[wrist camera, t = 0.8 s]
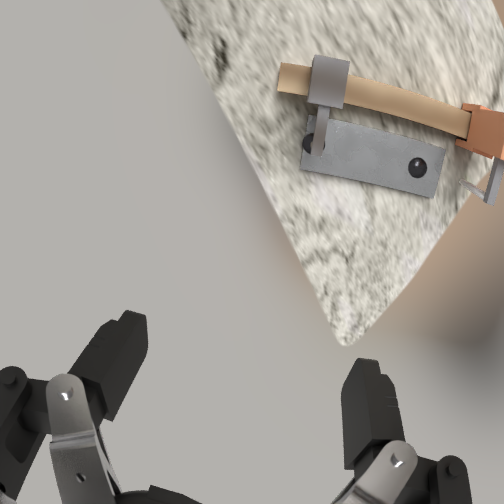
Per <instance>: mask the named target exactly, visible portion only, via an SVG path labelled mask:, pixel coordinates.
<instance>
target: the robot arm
mask: <svg viewBox="0 0 504 504" xmlns="http://www.w3.org/2000/svg"><path fill="white" fill-rule="evenodd" d="M147 350H148V334H147V321H146V316H145V315H143V314H140V313H136V312H133V311H129V310H126V311H125V312H124V313H123V314H122V316H121V317H120V319H119V320H118V321H116V320H110V321H108V322H107V323H105V324H104V325H102V326H101V327H100V328H99V329H98V331H97V332H96V334H95V335H94V337H93V338H92V339H91V341H90V342H89V345H87V346H86V348H85V349H84V350H83V352H82V353H81V355H80V356H79V357H78V359H77V360H76V362H75V363H74V365H73V366H72V368H71V369H70V371H69V372H68V373H67V374H60V375H57V376H55V377H53V378H52V379H51V380H50V381H44V380H36V379H29V378H27V376H26V374H25V372H24V371H23V370H22V369H21V368H19V367H14V366H9V367H6V368H3V369H2V370H0V504H17V503H16V502H15V501H16V499H17V496H18V494H19V492H20V490H21V487H22V485H23V483H24V480H25V478H26V476H27V474H28V471H29V469H30V467H31V465H32V463H33V461H34V459H35V456H36V454H37V452H38V450H39V448H40V446H41V444H42V442H43V440H44V438H45V436H46V434H51V435H52V442H50V454H51V459H52V464H53V468H54V473H55V476H56V481H57V485H58V489H59V493H60V496H61V500H62V504H201V503H199V502H197V501H195V500H193V499H191V498H189V497H187V496H185V495H183V494H180V493H176V492H173V491H169V490H166V489H162V488H159V487H156V486H153V485H150V488H149V491H145V490H141V491H129V492H124V493H123V492H122V490H121V487H120V485H119V482H118V480H117V477H116V475H115V473H114V470H113V468H112V465H111V462H110V459H109V456H108V453H107V450H106V446H105V443H104V440H103V437H102V433H101V430H100V424H101V422H102V420H103V418H104V419H107V420H110V421H113V420H114V418H115V416H116V414H117V412H118V410H119V407H120V406H121V404H122V402H123V400H124V398H125V396H126V394H127V392H128V390H129V388H130V386H131V384H132V382H133V380H134V378H135V376H136V374H137V373H138V371H139V368H140V367H141V365H142V363H143V361H144V359H145V357H146V354H147ZM341 406H342V420H343V442H344V469H345V470H354V477H353V478H352V480H351V481H350V482H349V483H348V484H347V486H346V487H345V488H344V489H343V490H342V491H341V492H340V494H339V495H338V496H337V497H336V498H335V499H334V500H333V501H332V503H331V504H472V498H471V491H470V484H469V479H468V473H467V468H466V465H465V464H464V462H463V461H462V460H461V459H460V458H458V457H456V456H451V455H449V456H445V457H443V458H442V459H441V460H440V461H438V462H437V461H434V460H430V459H426V458H423V457H420V456H418V455H417V453H416V451H415V450H414V448H413V447H412V446H411V445H410V444H408V443H406V441H405V438H404V431H403V426H402V421H401V416H400V411H399V408H398V401H397V399H396V392H395V387H394V384H393V383H392V381H391V380H390V378H389V377H388V376H387V375H384V374H381V372H380V367H379V363H378V361H377V360H372V359H364V358H358V359H357V360H356V361H355V363H354V365H353V367H352V369H351V371H350V373H349V375H348V377H347V379H346V380H345V382H344V384H343V388H342V392H341Z"/></svg>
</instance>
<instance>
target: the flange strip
mask: <svg viewBox="0 0 504 504" xmlns="http://www.w3.org/2000/svg"><path fill="white" fill-rule="evenodd" d="M316 117H317V116H315V115H308V121H307V128H306V134H305V137H304V139H303V152H302V158H301V164H300V169H302V170H307V171H313V172H318V173H324V174H329V175H334V176H339V177H344V178H349V179H353V180H358V181H363V182H367V183H372V184H376V185H381V186H385V187H389V188H393V189H398V190H402V191H406V192H410V193H414V194H417V195H421V196H425V197H429V198H434V195H435V191H436V187H437V184H438V180H439V176H440V172H441V168H442V164H443V160H444V156H445V151H446V149H443V148H441V147H437V146H434V145H431V144H428V143H425V142H422V141H418V140H415V139H412V138H408V137H405V136H401V135H397V134H394V133H390V132H386V131H382V130H379V129H375V128H371V127H366V126H362V125H358V124H354V123H349V122H345V121H340V120H335V119H330V118H329V119H328V125H327V130H326V136H325V142H324V148H323V153H322V157H319V156H313V155H311V154H310V153H311V145H310V143H311V142H312V141H313V136H314V130H315V124H316Z"/></svg>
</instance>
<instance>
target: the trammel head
mask: <svg viewBox="0 0 504 504" xmlns="http://www.w3.org/2000/svg"><path fill="white" fill-rule="evenodd" d="M462 110H464V111H467V112H469V113H472V117H471V122H470V128H469V133H468V137H467V142H466V141H463V140H460V139H457V138H456V143H455V145H457V146H460V147H462V148H465V149H467V150H470V151H472V152H475V153H478V154H480V155H483V156H485V157H488V158H490V159H492V158H493V156H494V157H495V158H494V162H493V166H492V170H491V174H490V178H489V182H488V185H487V189H486V192H484V191H482V190H480V189H479V188H478V187H476V186H474V185H473V184H471V183H469V182H468V181H466V180H464V179H460V181H459V183H460V185H462V186H463V187H465V188H466V189H468V190H469V191H471V192H472V193H474V194H475V195H477V196H478V197H480V198H481V199H483V201H484V202H485V203H487V204H490V205H493V206H494V203H495V200H496V196H497V193H498V189H499V186H500V182H501V179H502V175H503V171H504V113H503V112H497V111H492V110H490V109H488V108H486V107H483V106H481V105H475V104H466V103H463V106H462Z"/></svg>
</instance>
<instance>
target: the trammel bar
mask: <svg viewBox="0 0 504 504" xmlns="http://www.w3.org/2000/svg"><path fill="white" fill-rule="evenodd" d="M349 64H350V62H349V61H345V60H340V59H336V58H331V57H326V56H320V55H315V56H314V58H313V61H312V67H307V66H301V65H295V64H288V63H281V66H280V74H279V81H278V88H277V91H279V92H286V93H292V94H299V95H305V96H307V102H309V103H314V104H319V105H318V111H317V117H316V124H315V130H314V136H313V141H312V142H311V143H310V145H311V153H310V154H311V155H313V156H319V157H322V153H323V148H324V142H325V136H326V130H327V125H328V119H329V113H330V107H335V108H340V109H343V103H346V104H350V105H354V106H359V107H363V108H367V109H371V110H375V111H379V112H383V113H386V114H390V115H394V116H397V117H401V118H404V119H408V120H411V121H414V122H417V123H421V124H424V125H427V126H430V127H433V128H436V129H439V130H442V131H445V132H448V133H450V134H453V135H456V136H459V137H461V138H464V139H466V140H467V137H468V133H469V128H470V122H471V117H472V114H471V113H469V112H466V111H464V110H461V109H459V108H456V107H454V106H451V105H448V104H446V103H443V102H440V101H438V100H435V99H432V98H429V97H426V96H423V95H420V94H417V93H414V92H411V91H408V90H405V89H401V88H398V87H395V86H391V85H388V84H384V83H380V82H377V81H373V80H369V79H365V78H361V77H357V76H352V75H348V71H349Z"/></svg>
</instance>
